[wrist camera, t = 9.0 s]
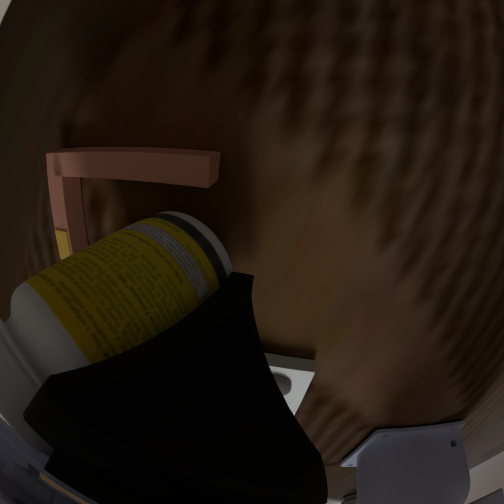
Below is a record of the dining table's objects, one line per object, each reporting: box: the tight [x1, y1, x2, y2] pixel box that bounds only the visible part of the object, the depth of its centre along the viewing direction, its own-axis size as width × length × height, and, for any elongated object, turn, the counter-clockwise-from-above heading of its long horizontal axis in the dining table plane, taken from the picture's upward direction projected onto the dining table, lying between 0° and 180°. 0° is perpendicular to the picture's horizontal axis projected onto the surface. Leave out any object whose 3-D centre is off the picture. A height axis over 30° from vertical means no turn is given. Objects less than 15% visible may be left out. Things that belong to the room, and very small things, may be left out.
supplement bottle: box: [0, 211, 233, 457], centre depth 7 cm, size 5×5×8 cm
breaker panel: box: [264, 353, 315, 415], centre depth 14 cm, size 12×6×1 cm, turn 84°
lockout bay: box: [46, 147, 221, 260], centre depth 11 cm, size 8×9×1 cm
